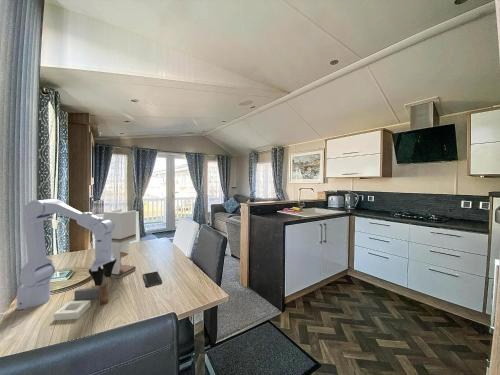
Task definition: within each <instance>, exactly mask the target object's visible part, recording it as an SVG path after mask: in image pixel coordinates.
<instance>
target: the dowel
mask: <svg viewBox="0 0 500 375" xmlns="http://www.w3.org/2000/svg"><path fill="white" fill-rule="evenodd" d="M99 288H100V298H99V305H100V306H105V305H107V304H108V303H109V284H102V285H101V286H99Z"/></svg>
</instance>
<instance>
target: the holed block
mask: <svg viewBox="0 0 500 375" xmlns="http://www.w3.org/2000/svg"><path fill="white" fill-rule="evenodd" d="M91 301H92V299H91V300H90V299H84V300H73V301H71V300H70V301H67V302H66V303H65V304H64V305H62V306H61V308H59V309H58V310H57V311H55V312H54V313H53V321H67V320H79V319H80V318H81V316H83V315H84V314H85V313H86V311H88V310H89V309H90V308H91V305H92V302H91Z"/></svg>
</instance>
